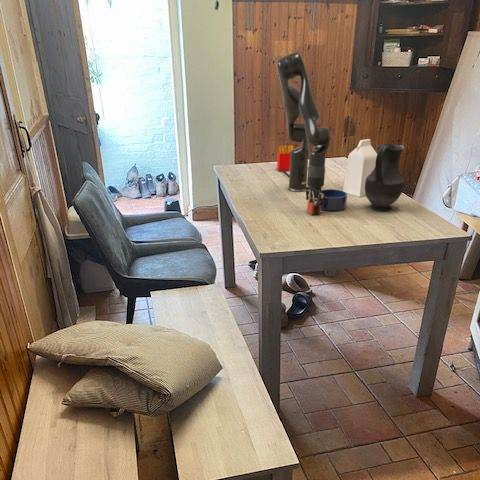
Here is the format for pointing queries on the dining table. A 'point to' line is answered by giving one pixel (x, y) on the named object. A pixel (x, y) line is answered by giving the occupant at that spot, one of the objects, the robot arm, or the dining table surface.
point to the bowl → (334, 200)
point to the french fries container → (284, 158)
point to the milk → (359, 168)
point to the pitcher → (385, 178)
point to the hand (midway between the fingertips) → (313, 211)
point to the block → (311, 208)
